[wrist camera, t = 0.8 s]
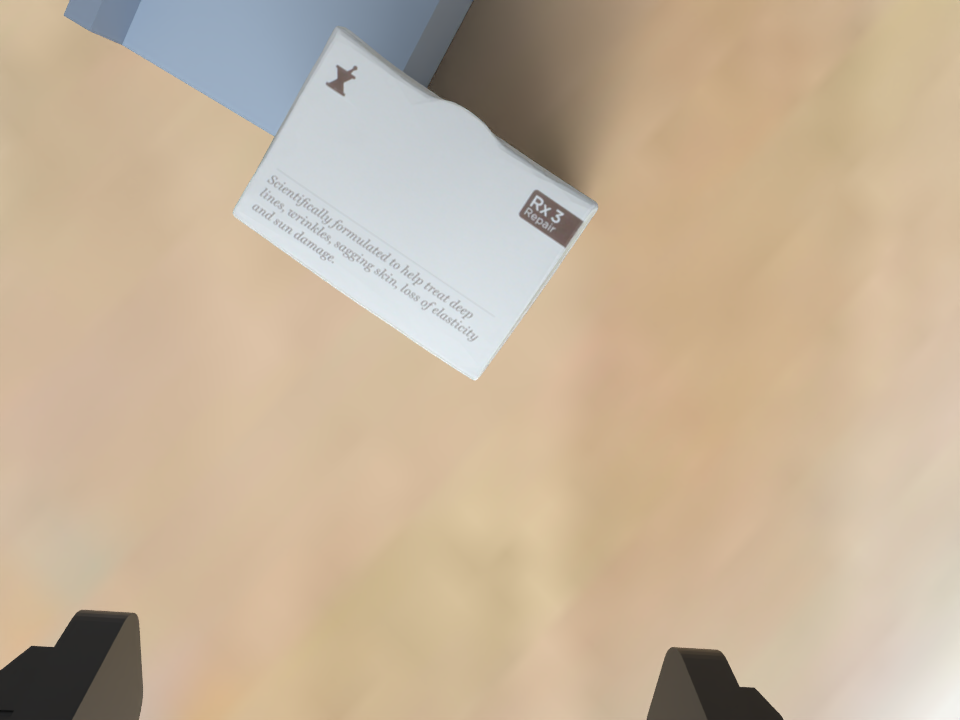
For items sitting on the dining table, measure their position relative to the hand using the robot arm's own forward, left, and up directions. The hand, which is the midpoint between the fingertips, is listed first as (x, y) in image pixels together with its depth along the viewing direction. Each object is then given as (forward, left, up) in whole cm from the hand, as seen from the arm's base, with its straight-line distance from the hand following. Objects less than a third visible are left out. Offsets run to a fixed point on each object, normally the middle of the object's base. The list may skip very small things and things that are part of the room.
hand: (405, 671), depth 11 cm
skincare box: (-5, -6, -23) cm, 25 cm away
